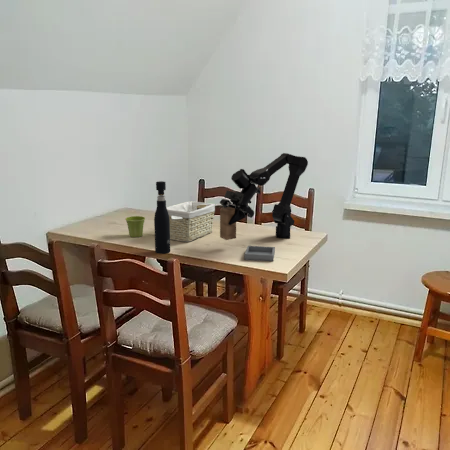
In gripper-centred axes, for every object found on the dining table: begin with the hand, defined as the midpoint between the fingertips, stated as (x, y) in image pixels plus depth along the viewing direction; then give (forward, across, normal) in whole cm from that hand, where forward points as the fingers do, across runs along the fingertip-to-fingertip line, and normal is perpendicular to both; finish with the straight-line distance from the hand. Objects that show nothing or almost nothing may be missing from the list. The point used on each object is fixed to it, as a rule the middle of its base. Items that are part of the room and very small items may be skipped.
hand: (225, 223), depth 195 cm
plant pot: (+24, -42, -8) cm, 49 cm away
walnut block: (+4, 0, +6) cm, 7 cm away
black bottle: (+25, -12, -9) cm, 29 cm away
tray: (+4, +17, +12) cm, 21 cm away
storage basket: (+10, -28, +7) cm, 30 cm away
